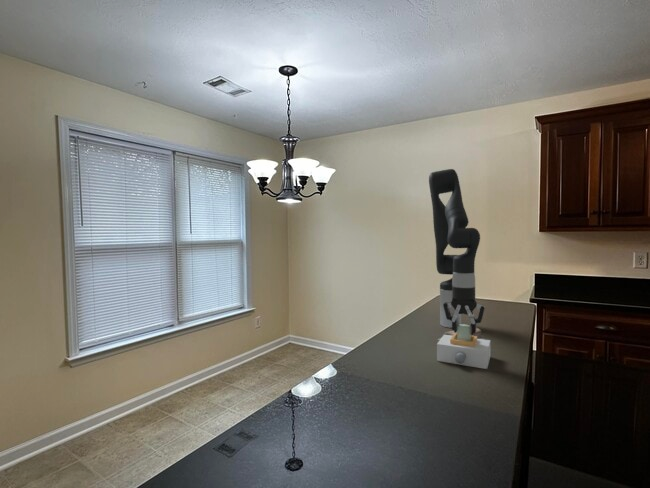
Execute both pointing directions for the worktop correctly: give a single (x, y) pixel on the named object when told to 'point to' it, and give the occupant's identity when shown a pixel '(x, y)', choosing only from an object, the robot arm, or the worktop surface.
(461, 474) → the worktop surface
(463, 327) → the pale green rounded piece
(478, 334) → the packaged product
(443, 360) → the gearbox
